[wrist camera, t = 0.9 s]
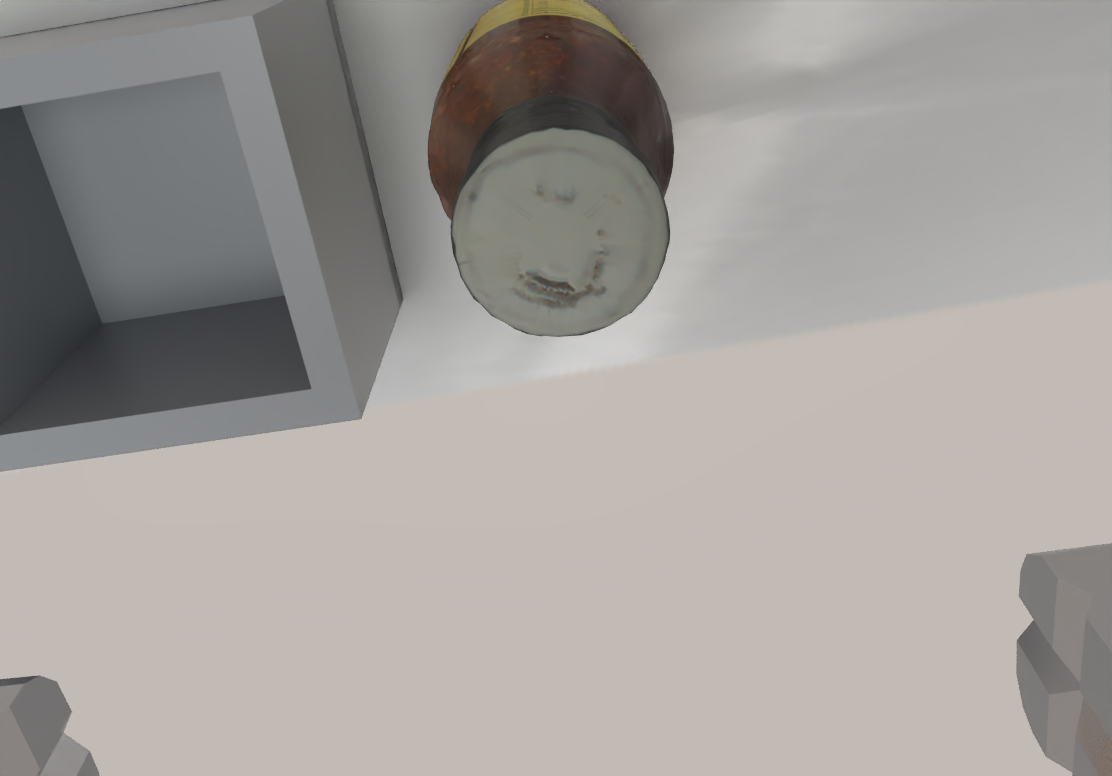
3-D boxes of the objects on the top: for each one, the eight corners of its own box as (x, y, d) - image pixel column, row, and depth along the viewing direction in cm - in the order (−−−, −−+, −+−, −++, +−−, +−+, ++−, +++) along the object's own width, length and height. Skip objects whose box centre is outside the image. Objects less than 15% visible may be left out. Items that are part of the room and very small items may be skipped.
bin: (327, -20, 36) (252, 15, 27) (403, 299, 41) (361, 419, 32) (-23, 41, 37) (-211, 94, 28) (92, 346, 42) (-34, 476, 33)
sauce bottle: (545, 203, 39) (540, 477, 21) (418, 80, 37) (295, 268, 19) (676, 73, 37) (793, 255, 19) (549, -64, 35) (548, -2, 17)
